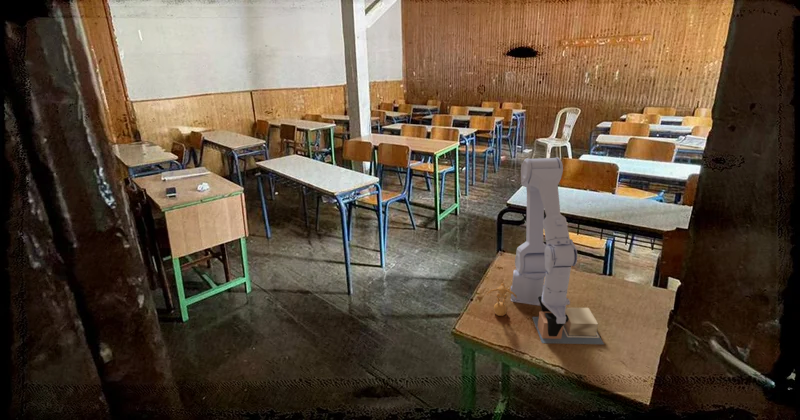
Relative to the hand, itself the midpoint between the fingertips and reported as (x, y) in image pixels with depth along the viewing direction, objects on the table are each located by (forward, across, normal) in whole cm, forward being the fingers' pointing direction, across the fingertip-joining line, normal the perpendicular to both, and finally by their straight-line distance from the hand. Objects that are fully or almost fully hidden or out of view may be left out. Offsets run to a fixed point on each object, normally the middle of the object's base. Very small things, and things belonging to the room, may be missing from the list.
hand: (549, 328), depth 113 cm
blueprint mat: (+2, +1, -5) cm, 5 cm away
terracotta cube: (+1, 0, 0) cm, 1 cm away
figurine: (+2, +7, +12) cm, 14 cm away
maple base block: (+1, +2, -8) cm, 9 cm away
